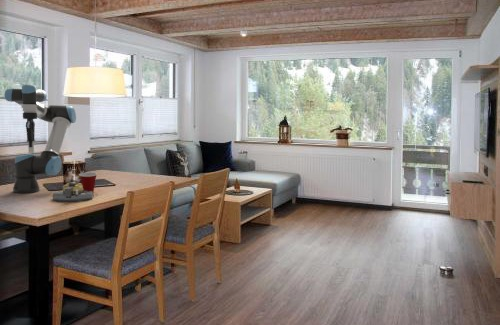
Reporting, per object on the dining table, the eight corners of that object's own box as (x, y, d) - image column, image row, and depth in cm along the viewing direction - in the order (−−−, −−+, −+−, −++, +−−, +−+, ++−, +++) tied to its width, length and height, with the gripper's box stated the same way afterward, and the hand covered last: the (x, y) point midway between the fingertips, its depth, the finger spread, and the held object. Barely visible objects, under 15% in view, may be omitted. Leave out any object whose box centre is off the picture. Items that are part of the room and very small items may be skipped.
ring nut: (65, 191, 279) (65, 181, 278) (84, 191, 280) (84, 181, 279) (57, 196, 261) (57, 186, 261) (77, 196, 263) (77, 186, 262)
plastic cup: (77, 194, 288) (77, 174, 286) (81, 190, 298) (80, 172, 297) (96, 193, 289) (95, 174, 288) (98, 190, 300) (98, 172, 299)
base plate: (56, 195, 282) (55, 184, 281) (94, 194, 288) (94, 183, 287) (49, 202, 261) (49, 191, 260) (91, 201, 266) (91, 190, 266)
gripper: (25, 111, 275) (26, 151, 277) (20, 112, 262) (21, 153, 265) (39, 112, 276) (40, 151, 279) (34, 112, 264) (36, 153, 267)
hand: (31, 152), depth 272 cm, fingers closed
